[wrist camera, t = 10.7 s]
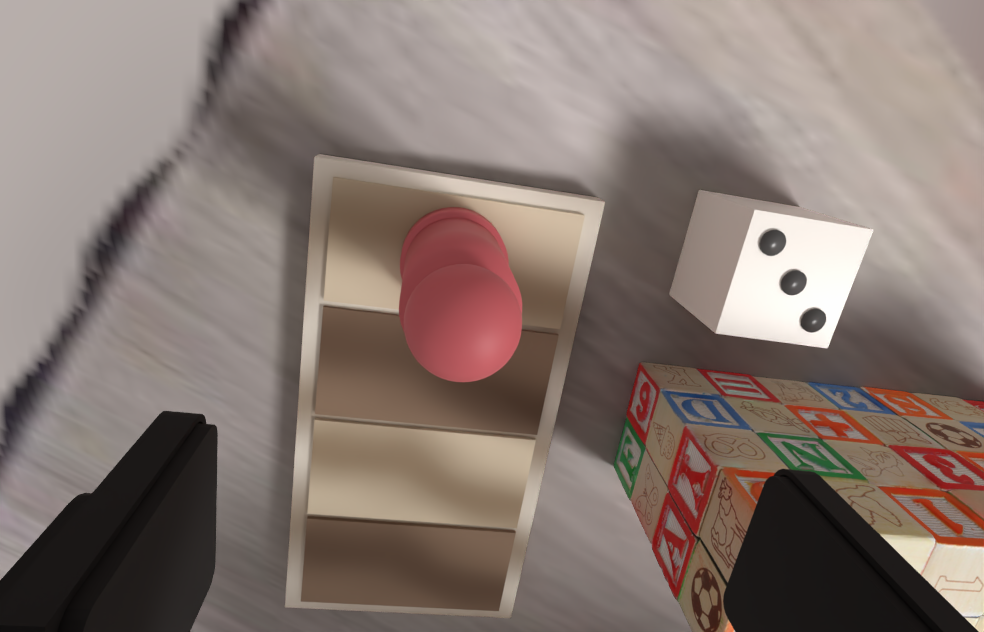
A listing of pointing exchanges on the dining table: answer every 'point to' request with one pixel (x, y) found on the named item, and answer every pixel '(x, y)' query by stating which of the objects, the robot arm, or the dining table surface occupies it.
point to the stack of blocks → (808, 447)
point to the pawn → (458, 296)
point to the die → (767, 269)
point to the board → (423, 400)
